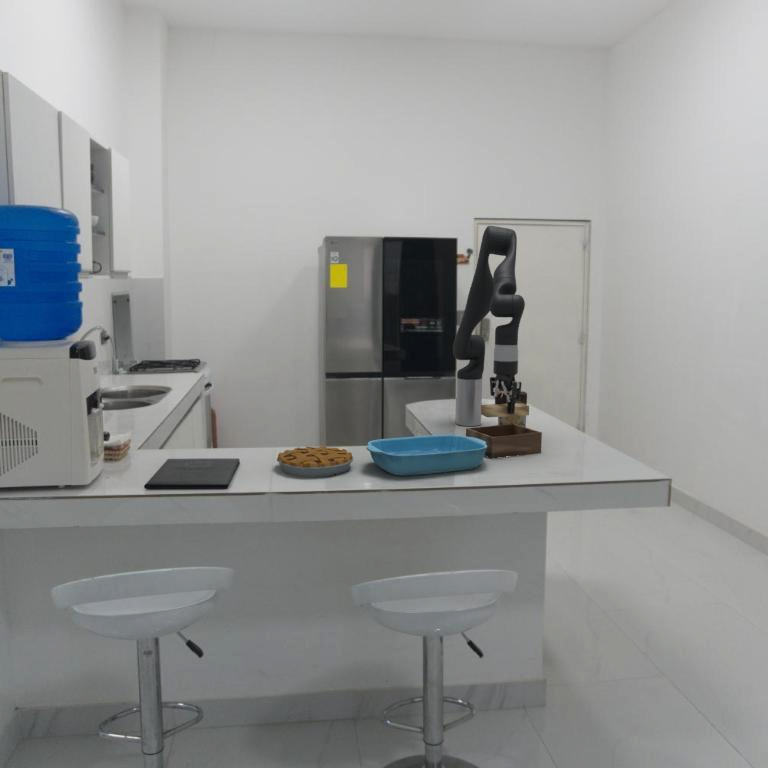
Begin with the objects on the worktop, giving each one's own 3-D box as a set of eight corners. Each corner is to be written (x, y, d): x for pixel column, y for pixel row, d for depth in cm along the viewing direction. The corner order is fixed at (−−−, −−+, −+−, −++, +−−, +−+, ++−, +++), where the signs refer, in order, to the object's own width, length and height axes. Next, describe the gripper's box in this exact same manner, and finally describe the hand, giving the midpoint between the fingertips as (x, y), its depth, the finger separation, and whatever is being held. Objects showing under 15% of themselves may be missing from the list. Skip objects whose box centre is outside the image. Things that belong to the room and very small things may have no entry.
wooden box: (465, 448, 238) (466, 428, 237) (512, 442, 246) (513, 423, 245) (492, 458, 225) (492, 437, 224) (541, 452, 233) (541, 432, 232)
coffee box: (498, 440, 250) (499, 393, 247) (497, 436, 256) (498, 390, 253) (525, 441, 249) (527, 393, 246) (524, 437, 255) (525, 390, 253)
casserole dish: (463, 452, 234) (464, 430, 233) (501, 469, 213) (502, 445, 212) (354, 463, 219) (354, 440, 218) (383, 483, 199) (383, 457, 198)
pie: (367, 472, 210) (367, 455, 209) (297, 483, 198) (296, 465, 198) (331, 456, 228) (331, 440, 227) (264, 465, 217) (264, 448, 216)
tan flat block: (521, 412, 238) (521, 403, 237) (528, 415, 233) (529, 405, 232) (480, 414, 235) (480, 404, 234) (487, 417, 229) (487, 407, 229)
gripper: (529, 360, 226) (528, 414, 229) (502, 356, 239) (501, 407, 241) (509, 362, 223) (508, 416, 225) (482, 357, 236) (481, 409, 238)
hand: (504, 411), depth 233 cm, fingers closed on tan flat block, 6 cm apart
